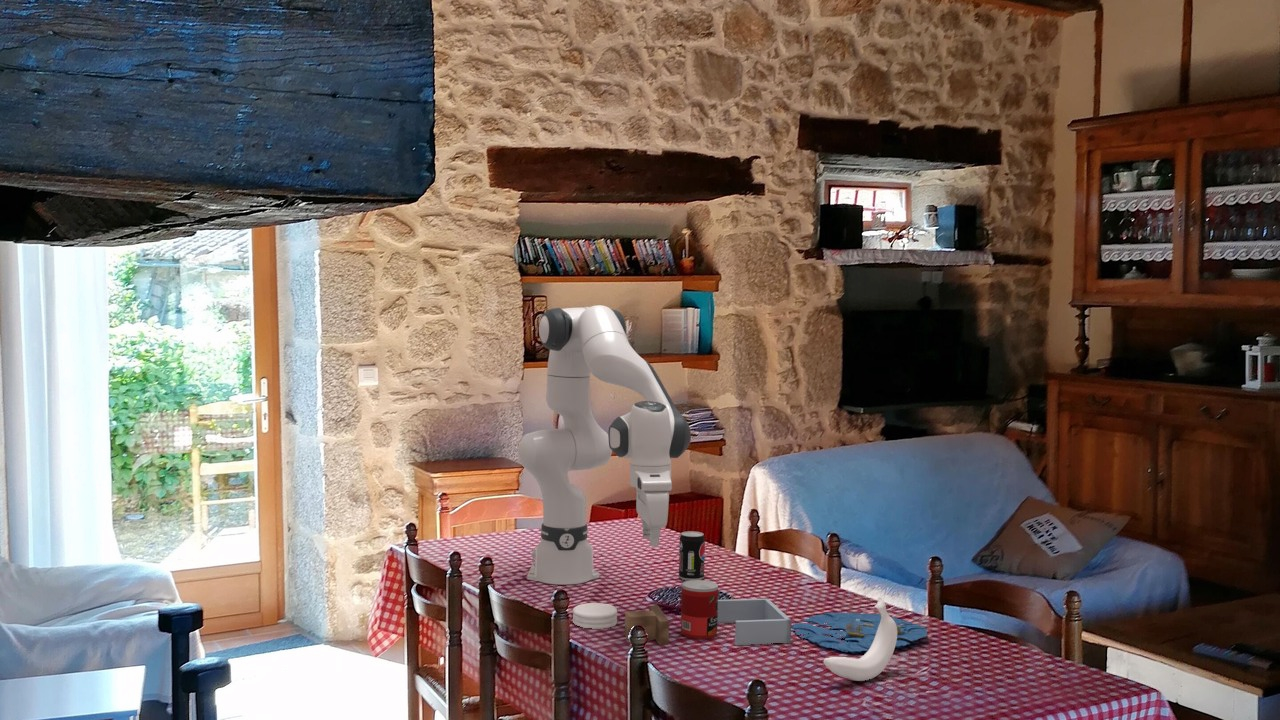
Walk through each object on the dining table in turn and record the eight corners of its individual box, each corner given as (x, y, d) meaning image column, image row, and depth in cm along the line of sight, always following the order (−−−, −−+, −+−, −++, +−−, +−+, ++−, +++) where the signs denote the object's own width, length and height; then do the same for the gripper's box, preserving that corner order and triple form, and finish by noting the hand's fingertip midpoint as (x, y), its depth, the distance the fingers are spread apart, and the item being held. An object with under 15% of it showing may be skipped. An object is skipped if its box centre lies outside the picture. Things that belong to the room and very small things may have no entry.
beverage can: (695, 583, 276) (696, 537, 275) (673, 579, 279) (674, 534, 279) (708, 578, 281) (709, 533, 281) (687, 574, 285) (688, 529, 284)
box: (716, 621, 243) (716, 599, 243) (767, 620, 245) (767, 598, 245) (736, 645, 226) (736, 622, 226) (790, 643, 228) (791, 620, 228)
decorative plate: (775, 652, 227) (775, 628, 227) (807, 614, 255) (807, 592, 255) (919, 666, 217) (918, 641, 216) (935, 624, 244) (935, 602, 244)
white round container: (572, 617, 245) (572, 602, 245) (615, 617, 246) (616, 602, 246) (573, 630, 235) (573, 614, 235) (618, 630, 236) (619, 614, 236)
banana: (821, 686, 203) (823, 609, 202) (881, 665, 216) (883, 593, 215) (842, 693, 199) (844, 615, 199) (901, 671, 212) (904, 598, 211)
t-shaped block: (631, 645, 225) (631, 622, 224) (621, 628, 237) (622, 606, 236) (668, 644, 226) (669, 621, 226) (657, 627, 238) (657, 605, 238)
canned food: (714, 641, 229) (716, 590, 228) (677, 638, 231) (678, 587, 230) (719, 630, 236) (720, 581, 236) (683, 627, 238) (684, 578, 237)
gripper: (629, 471, 240) (629, 533, 240) (642, 484, 220) (643, 551, 220) (657, 471, 241) (657, 532, 241) (673, 483, 221) (673, 550, 221)
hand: (650, 542), depth 231 cm, fingers open, 8 cm apart
